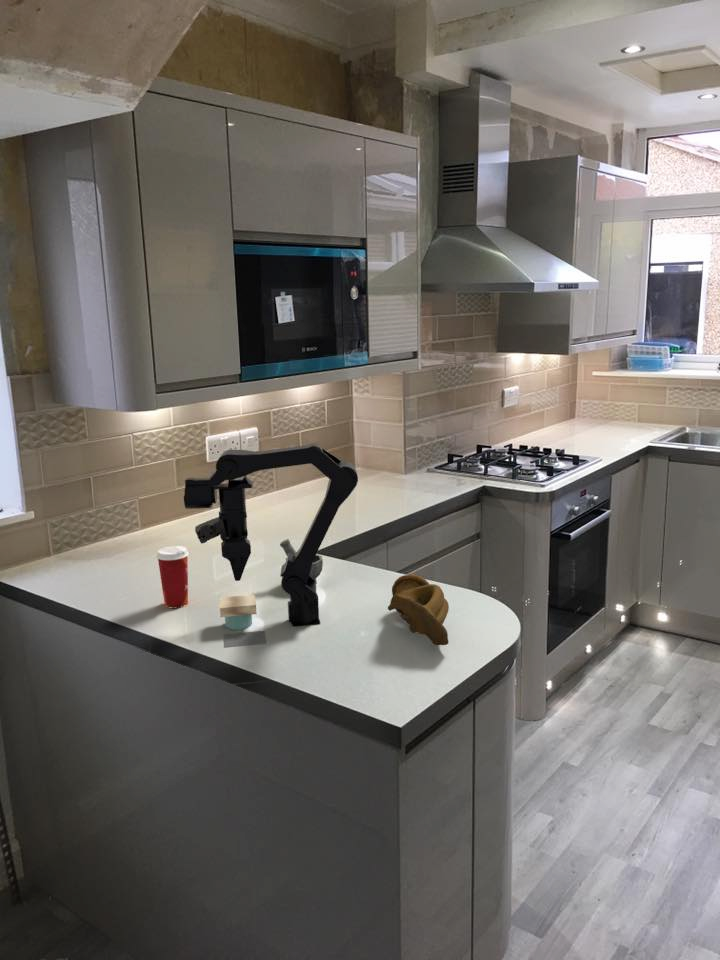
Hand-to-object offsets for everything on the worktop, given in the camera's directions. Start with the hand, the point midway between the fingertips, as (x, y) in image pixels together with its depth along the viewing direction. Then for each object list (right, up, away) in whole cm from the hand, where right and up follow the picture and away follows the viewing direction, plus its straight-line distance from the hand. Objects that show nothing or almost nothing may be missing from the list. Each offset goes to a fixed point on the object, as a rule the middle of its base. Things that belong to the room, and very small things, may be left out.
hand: (236, 573), depth 177 cm
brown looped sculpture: (+41, -13, -3) cm, 43 cm away
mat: (+3, -14, -6) cm, 15 cm away
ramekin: (0, -12, +2) cm, 12 cm away
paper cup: (-17, -10, +16) cm, 25 cm away
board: (0, -8, +1) cm, 8 cm away
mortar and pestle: (+13, -6, +28) cm, 31 cm away
